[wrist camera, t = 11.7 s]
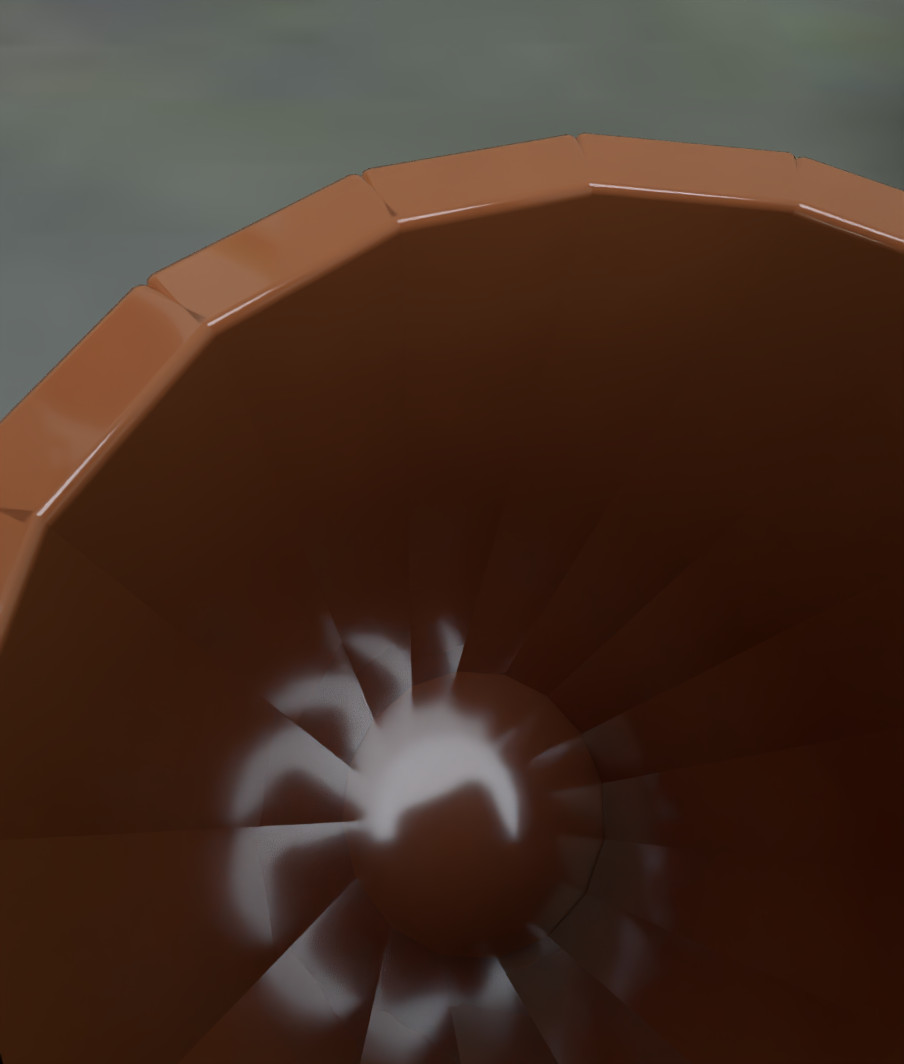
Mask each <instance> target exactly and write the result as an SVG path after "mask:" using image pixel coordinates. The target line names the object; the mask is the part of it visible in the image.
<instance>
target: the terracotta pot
mask: <svg viewBox="0 0 904 1064" xmlns="http://www.w3.org/2000/svg"><path fill="white" fill-rule="evenodd" d="M0 1064H904V190H901V189H898V188H895V187H892V186H889V185H886V184H883V183H880V182H877V181H874V180H871V179H868V178H866V177H863V176H860V175H857V174H854V173H851V172H848V171H845V170H842V169H839V168H836V167H833V166H830V165H828V164H825V163H822V162H819V161H816V160H813V159H810V158H807V157H798V158H797V159H796V158H795V156H794V155H793V154H791V153H789V152H782V151H772V150H761V149H751V148H740V147H730V146H719V145H708V144H698V143H687V142H677V141H666V140H655V139H645V138H634V137H624V136H613V135H603V134H592V133H581V134H579V135H578V136H577V138H576V137H574V136H571V135H567V134H566V135H560V136H554V137H548V138H543V139H537V140H531V141H525V142H519V143H513V144H508V145H502V146H496V147H490V148H484V149H478V150H473V151H467V152H461V153H455V154H449V155H443V156H438V157H432V158H426V159H420V160H414V161H408V162H403V163H397V164H391V165H385V166H379V167H373V168H368V169H367V170H365V171H363V173H362V176H361V175H357V174H350V175H348V176H346V177H344V178H342V179H340V180H338V181H336V182H334V183H332V184H330V185H328V186H326V187H324V188H322V189H320V190H318V191H316V192H314V193H312V194H310V195H308V196H306V197H304V198H302V199H300V200H298V201H296V202H294V203H292V204H290V205H288V206H286V207H284V208H282V209H280V210H278V211H276V212H274V213H272V214H270V215H268V216H266V217H264V218H262V219H260V220H258V221H256V222H254V223H252V224H250V225H248V226H246V227H244V228H242V229H240V230H238V231H236V232H234V233H232V234H230V235H228V236H226V237H224V238H222V239H220V240H218V241H216V242H214V243H212V244H210V245H208V246H206V247H204V248H202V249H200V250H198V251H196V252H194V253H192V254H190V255H189V256H187V257H185V258H183V259H181V260H179V261H177V262H175V263H173V264H171V265H169V266H167V267H165V268H163V269H161V270H159V271H157V272H155V273H153V274H151V276H150V277H149V278H148V279H147V285H138V286H135V287H133V288H132V289H131V290H130V291H129V292H128V293H127V294H126V295H125V296H124V297H123V298H122V299H121V300H120V301H119V302H118V303H117V304H116V305H115V306H114V307H113V308H112V309H111V310H110V311H109V312H108V313H107V314H106V315H105V316H104V317H103V318H102V319H101V320H100V321H99V322H98V323H97V324H96V325H95V326H94V327H93V328H92V329H91V330H90V331H89V332H88V333H87V334H86V335H85V336H84V337H83V338H82V339H81V340H80V341H79V342H78V343H77V344H76V345H75V346H74V347H73V348H72V349H71V350H70V351H69V352H68V353H67V354H66V355H65V356H64V357H63V359H62V360H61V361H60V362H59V363H58V364H57V365H56V366H55V367H54V368H53V369H52V370H51V371H50V372H49V373H48V374H47V375H46V376H45V377H44V378H43V379H42V380H41V381H40V382H39V383H38V384H37V385H36V386H35V387H34V388H33V389H32V390H31V391H30V392H29V393H28V394H27V395H26V396H25V397H24V398H23V399H22V400H21V401H20V402H19V403H18V404H17V405H16V406H15V407H14V408H13V409H12V410H11V411H10V412H9V413H8V414H7V415H6V416H5V417H4V418H3V419H2V420H1V421H0Z"/></svg>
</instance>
